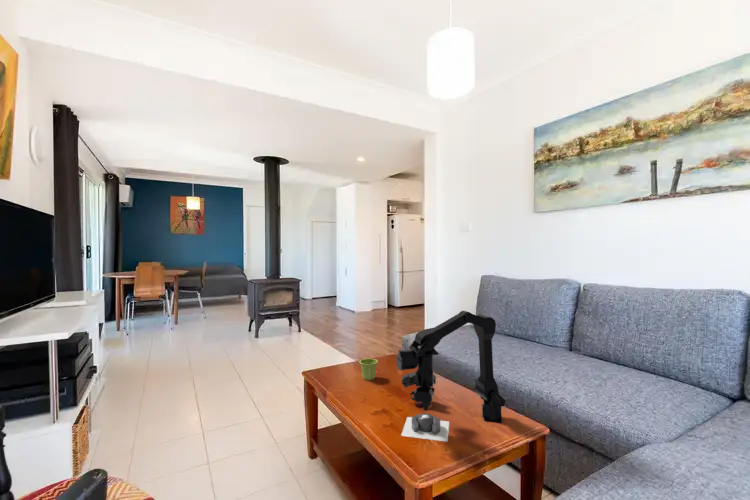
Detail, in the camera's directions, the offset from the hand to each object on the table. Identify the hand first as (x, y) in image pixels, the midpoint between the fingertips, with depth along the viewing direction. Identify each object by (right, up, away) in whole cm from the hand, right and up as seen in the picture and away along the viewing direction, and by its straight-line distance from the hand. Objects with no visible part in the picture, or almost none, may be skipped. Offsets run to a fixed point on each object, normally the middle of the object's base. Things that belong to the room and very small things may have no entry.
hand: (425, 410), depth 123 cm
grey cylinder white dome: (0, -7, 0) cm, 6 cm away
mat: (0, -7, 0) cm, 7 cm away
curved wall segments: (0, -7, 0) cm, 7 cm away
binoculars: (+1, -7, +20) cm, 22 cm away
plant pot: (-22, -8, +51) cm, 56 cm away
